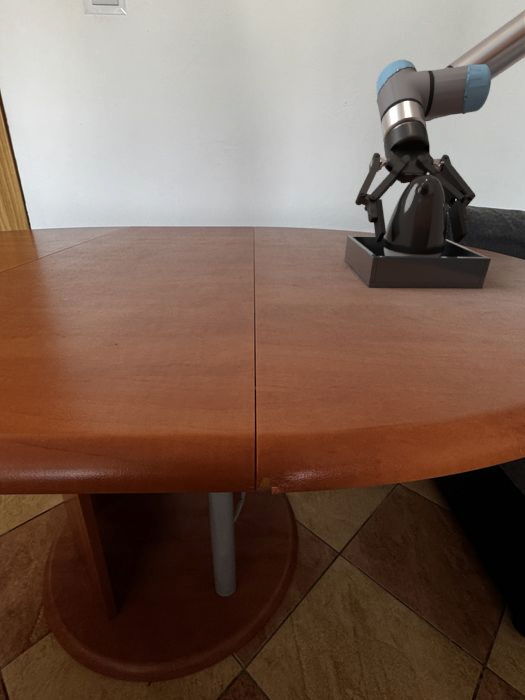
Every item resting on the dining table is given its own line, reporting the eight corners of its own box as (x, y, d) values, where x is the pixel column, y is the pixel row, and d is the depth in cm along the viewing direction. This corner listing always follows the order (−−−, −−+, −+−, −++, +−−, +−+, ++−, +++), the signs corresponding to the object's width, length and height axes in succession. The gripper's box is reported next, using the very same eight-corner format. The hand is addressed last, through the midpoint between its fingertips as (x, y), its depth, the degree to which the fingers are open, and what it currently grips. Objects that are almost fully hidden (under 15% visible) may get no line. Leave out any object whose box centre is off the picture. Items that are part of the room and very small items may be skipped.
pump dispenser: (375, 271, 65) (391, 174, 58) (382, 257, 73) (396, 172, 66) (439, 279, 62) (464, 177, 55) (438, 264, 70) (460, 174, 63)
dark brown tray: (436, 261, 75) (441, 236, 73) (482, 288, 61) (491, 258, 58) (344, 260, 74) (347, 235, 72) (368, 287, 60) (373, 257, 57)
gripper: (459, 155, 73) (480, 250, 67) (333, 152, 72) (341, 249, 66) (483, 121, 66) (508, 225, 60) (342, 118, 65) (353, 223, 59)
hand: (421, 238), depth 63 cm, fingers open, 13 cm apart
